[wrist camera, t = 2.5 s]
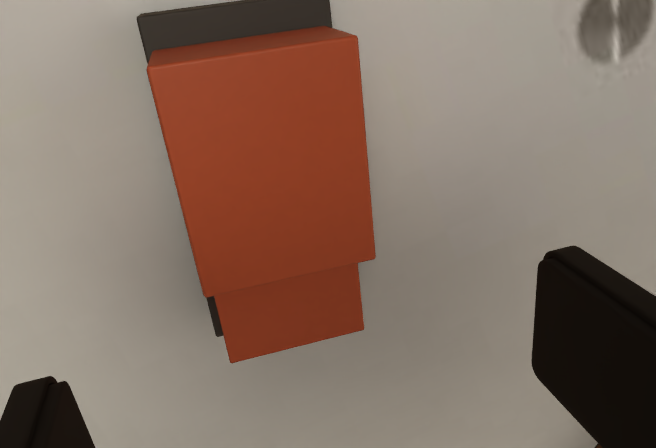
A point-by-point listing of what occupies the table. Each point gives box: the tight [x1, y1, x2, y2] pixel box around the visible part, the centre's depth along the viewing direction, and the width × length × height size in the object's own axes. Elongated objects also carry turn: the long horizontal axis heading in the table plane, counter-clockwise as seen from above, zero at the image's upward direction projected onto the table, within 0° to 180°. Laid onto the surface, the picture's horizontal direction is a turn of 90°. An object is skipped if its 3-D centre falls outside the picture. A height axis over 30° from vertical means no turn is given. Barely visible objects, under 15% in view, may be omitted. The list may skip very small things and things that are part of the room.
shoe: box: [137, 0, 376, 363], centre depth 18 cm, size 12×6×5 cm, turn 6°
